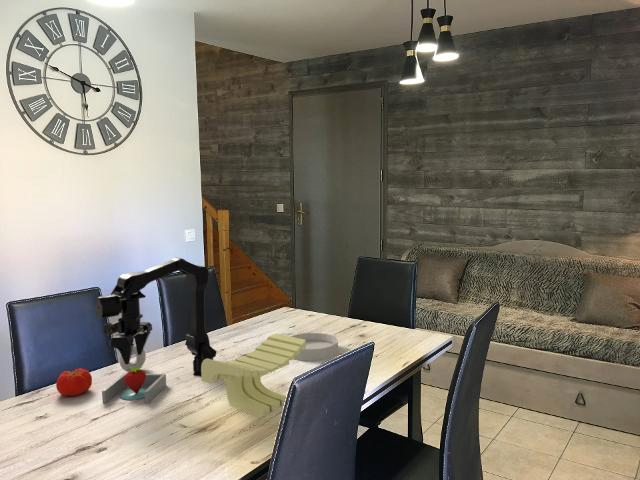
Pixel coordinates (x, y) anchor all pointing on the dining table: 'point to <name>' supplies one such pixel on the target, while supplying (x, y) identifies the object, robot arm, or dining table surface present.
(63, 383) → the tomato
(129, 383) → the strawberry
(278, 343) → the slatted curved stool
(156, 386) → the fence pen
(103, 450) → the dining table surface
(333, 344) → the dish
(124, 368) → the donut
